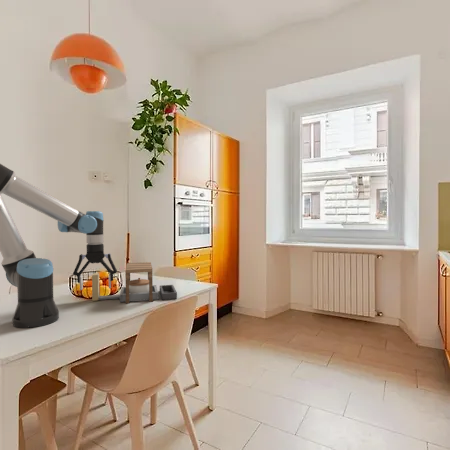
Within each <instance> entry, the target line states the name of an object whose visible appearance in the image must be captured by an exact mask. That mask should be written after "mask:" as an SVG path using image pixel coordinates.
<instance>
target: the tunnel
mask: <svg viewBox="0 0 450 450" xmlns="http://www.w3.org/2000/svg"><path fill="white" fill-rule="evenodd" d="M124 273H125V287H126V302H125V304H130V301H129V281H131V274H138V273H147V280H149V300H148V301H149V302H151V303H152V302H154V300H153V265H152V262H151V261H149V262H148V261H144V262H127V263H126V265H125V272H124Z"/></svg>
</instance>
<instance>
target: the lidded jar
mask: <svg viewBox="0 0 450 450" xmlns="http://www.w3.org/2000/svg"><path fill="white" fill-rule="evenodd" d="M129 293H130V294H135V293H149V280H148V278H147V279H145V278H141V277H138V278H137V279H130V281H129Z"/></svg>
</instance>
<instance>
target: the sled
mask: <svg viewBox="0 0 450 450" xmlns="http://www.w3.org/2000/svg"><path fill="white" fill-rule="evenodd" d="M91 283H92V285H91V293H92V294H91V296H92V297H91V299H92V301H93V302H94V301H95V302H96V301H97V302H98V301H100V300H101V301H104V300H114V299H115V300H117V299H119V302H120V303H122V302H123V303H126V286H123V287H121V289H120V293H119V294H113V295H111V294H110V295H100V273H98V272H95V273H92V275H91ZM155 300H159V290H158V286H157V284H156V285H155V284H154V285H153V301H155ZM139 301H149V293H135V294H130V293H129V302H139Z"/></svg>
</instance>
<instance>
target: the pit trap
mask: <svg viewBox="0 0 450 450" xmlns="http://www.w3.org/2000/svg"><path fill="white" fill-rule="evenodd" d="M159 293H160V297H161V300H162V301H164V300H165V301H166V300H177V299H178V292H177V290H176V288H175V286H174V284H164V285H162V284H161V285H159Z"/></svg>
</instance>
